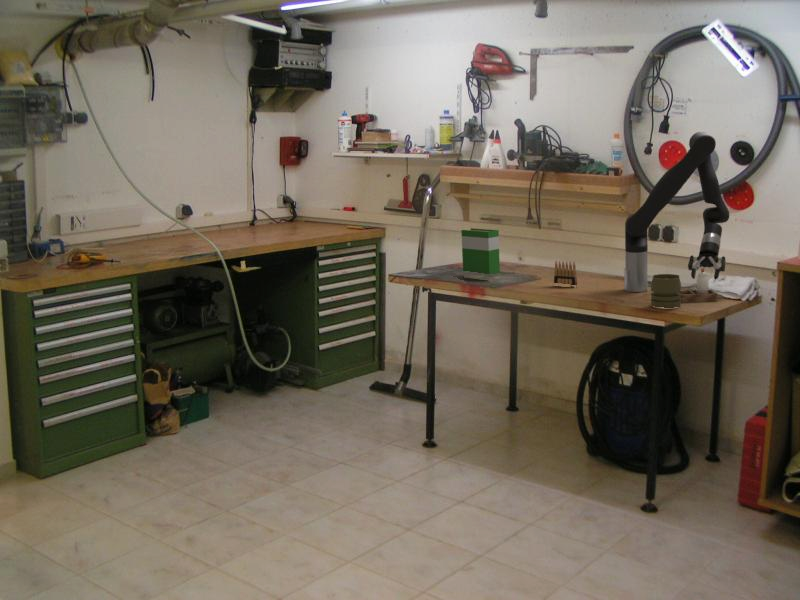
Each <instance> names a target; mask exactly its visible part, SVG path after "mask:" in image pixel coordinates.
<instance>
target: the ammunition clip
mask: <svg viewBox="0 0 800 600" xmlns="http://www.w3.org/2000/svg"><path fill="white" fill-rule="evenodd" d="M554 283H562V284H570V285H577V286H578V279H577V269H576V262H575V261H573V262H572V261H571V260H570V261H569V263H568V261H567V260H566V262H565V261H564V260H562V263H561V260H559V261H557V260H555V261H554V275H553V284H554Z"/></svg>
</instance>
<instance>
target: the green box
mask: <svg viewBox="0 0 800 600" xmlns="http://www.w3.org/2000/svg"><path fill="white" fill-rule="evenodd" d="M460 233H461V250H462V272H463V271H470V272H478V273H484V274H497V273H500V272H501V271H500V270H501V269H500V267H501V265H500V236H499V229H487V228H473V227H472V228H470V229H469V230H468V229H461V232H460ZM500 274H501V273H500Z"/></svg>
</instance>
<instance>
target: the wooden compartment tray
mask: <svg viewBox="0 0 800 600" xmlns="http://www.w3.org/2000/svg"><path fill="white" fill-rule="evenodd" d="M678 293H680V294H681V298H680V299H681V303H700V302H701V303H703V302H704V303H705V302H707V303H708V302H718V293H717V292H716V291H714V290H712V289H708V294H696V289H693V290H692V289H691V290H681V291H680V292H678Z"/></svg>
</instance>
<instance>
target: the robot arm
mask: <svg viewBox="0 0 800 600" xmlns="http://www.w3.org/2000/svg"><path fill="white" fill-rule="evenodd" d="M688 142H689V143H688V146H689V149H688V150H687V152H686V153H685V155H684V156H683V157H682V158H681V159H680V160H679V161H678V162H677V163H675V164H673V166H671V167H670V168H669V169H668V170H666V171H665V173H664V174H662V176H661V177H660V178H659V179H658V181H657V182H656V184H655V185H654V186H653V187H652V189H651V191H650V192H649V194H648V197H647V198H646V200H645V201H644V203H643V204H642V206H640V207H639V208H638V209H637V211H636V212H635V213H632V214H630V215H629V216H628V217H626V220H625V223H624V224H625V225H624V234H625V235H624V238H625V239H624V244H625V246H624V247H625V249H624V250H625V252H624V253H625V267H624V271H623V273H624V281H623V282H624V290H625V292H626V293H627V292H628V293H642V292H647V291H648V286H649V285H648V248H649V247H648V229H649V227H650V226H651V224H652V223H653V221H655V220H654V219H656V217H657V216H658V215H659V213H660V212H661V211H662V210H663V209H664V208H666V206H667V205H668V204H669V203H671V201H672V200H673V198H674V197H675V196H676V195H677V194H678V193H679V191H680V190H681V189H682V188H683V186H684V185H685V184H686V182H687V181H689V179H690V178H691V177H692V175H693V174H694V172H695V171H696V169H697V172H698V176H699V182H700V186H701V192H702V197H703V201H704V202H705V203H706V204H712V205H714V206H713V207H707V208H705V209H704V210H703V213H702V218H703V225H704V227H703V228H704V229H703V235H702V238H701V242H700V246H699V247H700V248H699V252H698V256H694V255H690V256H689V260H688V265H687V268H688V271H691V272H690V276H691V278H692V279H693V280H695V278H696V274H697V271H698V270H701V268H713V270H714V276H713V279H714V280H715V281H716V280H718V278H719V276H720V272H725V271H726V270H725V269H726V256H725V255H723V256H722V257H719V253H720V248H721V240H722V239H721V238H722V232H723V228H722V226H721V224H723V223H727V222H728V221H729V219H730V210H729V209H728V207H727V204H726V203H725V201H724V199H723V196H722V193H721V186H720V183H719V180H718V177H717V174H716V171H715V169H714V165H713V162H712V156H711V155H712V153H714V151H715V150H716V149H715V148H716V145H717V143H716V139H715V138H714V137H713V135H711V134H709V133H708V132H707V133H706V132H704V131H698V132H695V133H694V134H692V135H691V137H690V138H689V141H688ZM718 262H719V263H720V266H719V265H718V264H717V263H718ZM694 263H695V264H694Z"/></svg>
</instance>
